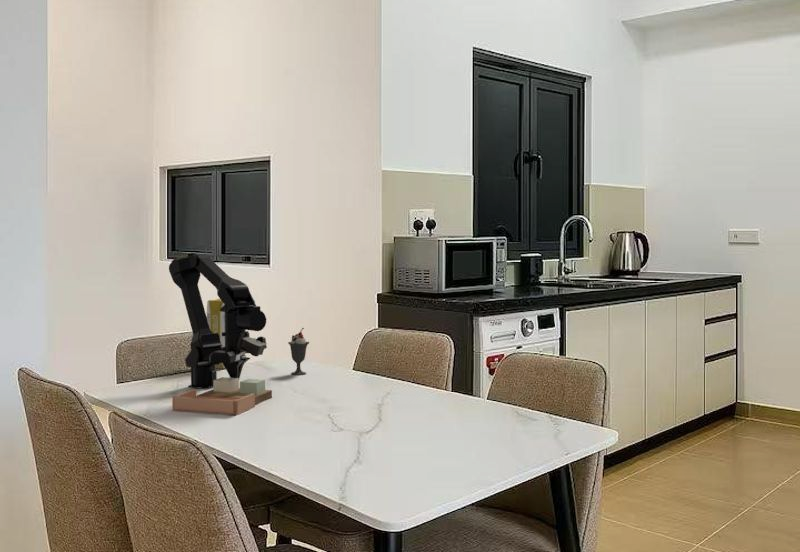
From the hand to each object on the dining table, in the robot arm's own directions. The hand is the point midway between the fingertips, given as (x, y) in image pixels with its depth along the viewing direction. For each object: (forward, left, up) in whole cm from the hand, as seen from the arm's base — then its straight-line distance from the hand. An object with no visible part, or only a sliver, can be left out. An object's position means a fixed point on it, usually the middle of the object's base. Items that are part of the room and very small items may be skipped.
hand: (235, 383), depth 221 cm
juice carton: (-26, +38, -3) cm, 46 cm away
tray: (+4, -19, -3) cm, 19 cm away
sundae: (+4, +34, -3) cm, 35 cm away
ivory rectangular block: (0, -5, -1) cm, 5 cm away
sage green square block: (+8, -5, -1) cm, 9 cm away
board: (+4, -8, -3) cm, 9 cm away
